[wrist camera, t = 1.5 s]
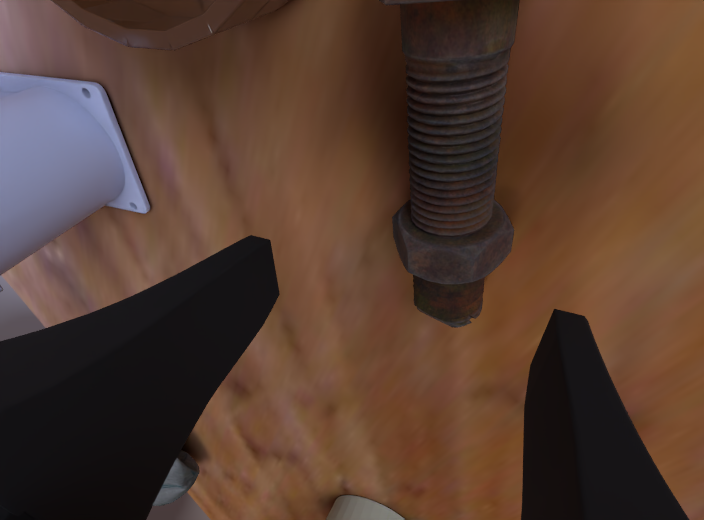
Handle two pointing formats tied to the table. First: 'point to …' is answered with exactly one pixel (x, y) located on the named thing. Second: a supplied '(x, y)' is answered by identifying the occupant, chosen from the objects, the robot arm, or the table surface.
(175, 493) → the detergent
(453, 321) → the bolt
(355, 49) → the table surface
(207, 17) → the bowl
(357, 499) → the reusable coffee cup
